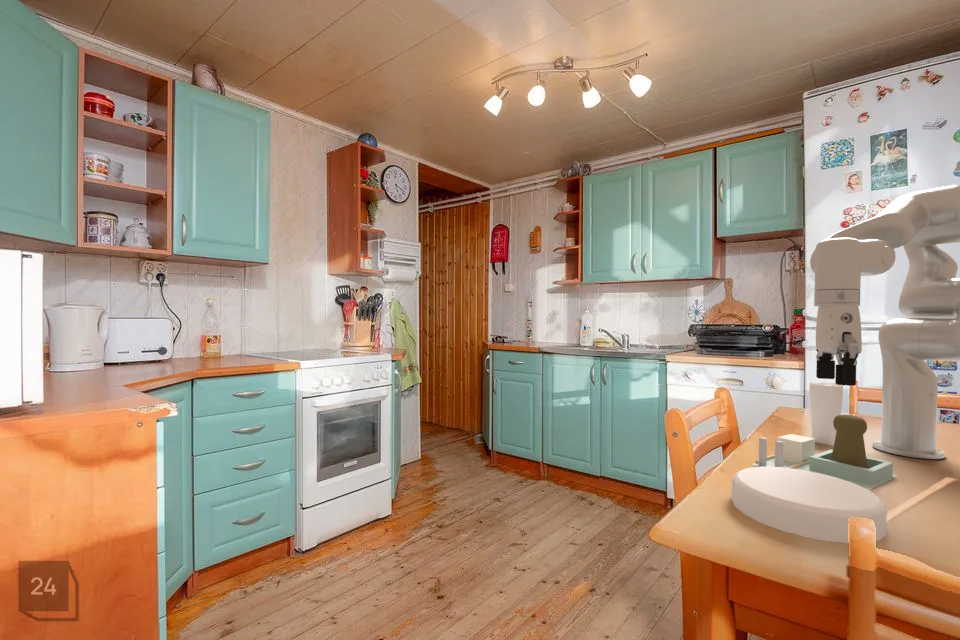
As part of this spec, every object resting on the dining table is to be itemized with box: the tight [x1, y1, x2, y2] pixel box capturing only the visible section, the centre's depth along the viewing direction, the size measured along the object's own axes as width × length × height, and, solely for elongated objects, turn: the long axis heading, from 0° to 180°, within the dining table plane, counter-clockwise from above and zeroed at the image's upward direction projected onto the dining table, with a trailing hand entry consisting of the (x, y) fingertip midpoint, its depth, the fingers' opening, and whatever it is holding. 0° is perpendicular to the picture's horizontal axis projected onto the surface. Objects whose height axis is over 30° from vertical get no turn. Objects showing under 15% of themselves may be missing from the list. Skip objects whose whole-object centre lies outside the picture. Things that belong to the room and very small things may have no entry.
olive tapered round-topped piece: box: [831, 414, 868, 469], centre depth 90 cm, size 6×6×11 cm
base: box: [751, 436, 898, 491], centre depth 91 cm, size 18×18×7 cm
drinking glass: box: [808, 381, 844, 447], centre depth 114 cm, size 7×7×15 cm
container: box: [731, 466, 888, 544], centre depth 73 cm, size 20×20×5 cm
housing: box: [776, 433, 816, 464], centre depth 98 cm, size 6×5×4 cm
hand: (834, 381), depth 95 cm, fingers open, 9 cm apart
